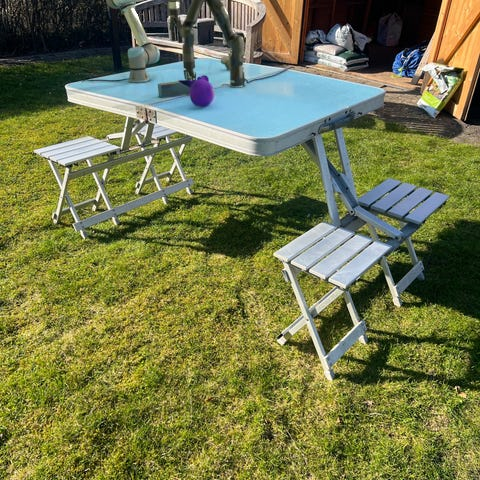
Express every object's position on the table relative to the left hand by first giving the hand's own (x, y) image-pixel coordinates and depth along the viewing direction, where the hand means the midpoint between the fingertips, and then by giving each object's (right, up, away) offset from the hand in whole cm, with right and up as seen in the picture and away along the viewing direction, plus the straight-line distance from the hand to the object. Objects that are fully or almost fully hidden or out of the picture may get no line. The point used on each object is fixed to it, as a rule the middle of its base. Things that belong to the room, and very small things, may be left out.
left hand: (177, 41), depth 322 cm
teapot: (+39, 0, +53) cm, 66 cm away
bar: (+4, -45, -24) cm, 51 cm away
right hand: (+12, -40, -21) cm, 47 cm away
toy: (+20, -60, -49) cm, 80 cm away
